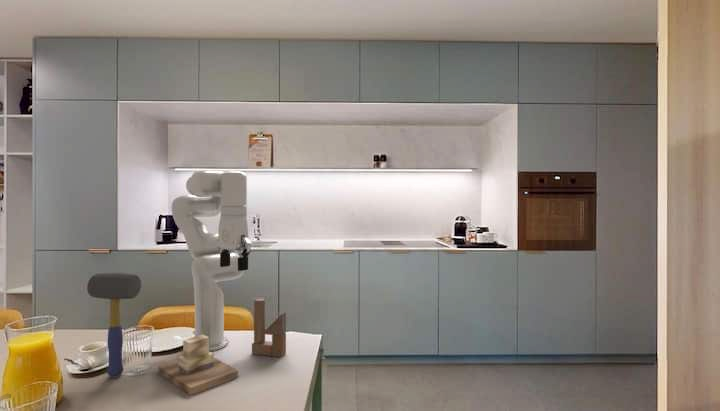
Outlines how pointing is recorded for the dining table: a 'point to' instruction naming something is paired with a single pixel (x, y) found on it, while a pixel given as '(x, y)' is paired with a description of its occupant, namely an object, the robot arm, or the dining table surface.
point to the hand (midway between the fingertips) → (233, 268)
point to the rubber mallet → (114, 310)
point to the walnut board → (198, 376)
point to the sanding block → (195, 355)
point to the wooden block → (275, 329)
